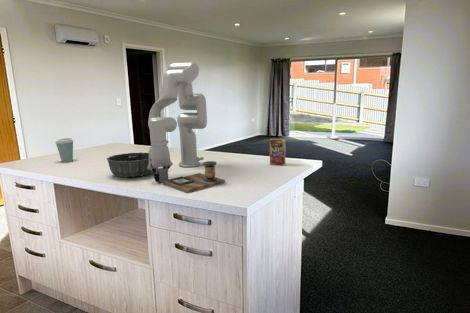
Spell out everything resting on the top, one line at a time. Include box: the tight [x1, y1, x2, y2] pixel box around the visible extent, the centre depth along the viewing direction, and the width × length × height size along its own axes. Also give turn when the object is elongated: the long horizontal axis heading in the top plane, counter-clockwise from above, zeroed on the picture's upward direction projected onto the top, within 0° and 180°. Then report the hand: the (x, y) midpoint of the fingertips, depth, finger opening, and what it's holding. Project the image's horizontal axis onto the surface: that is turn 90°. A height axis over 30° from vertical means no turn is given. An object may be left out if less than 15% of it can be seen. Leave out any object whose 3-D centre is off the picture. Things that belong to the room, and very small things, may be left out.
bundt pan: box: [106, 152, 153, 178], centre depth 177 cm, size 26×26×10 cm
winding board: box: [162, 160, 226, 194], centre depth 154 cm, size 22×20×10 cm
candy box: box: [269, 138, 287, 166], centre depth 190 cm, size 9×4×15 cm, turn 71°
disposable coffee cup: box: [54, 137, 74, 163], centre depth 214 cm, size 11×11×15 cm
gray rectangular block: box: [158, 167, 169, 183], centre depth 161 cm, size 4×6×6 cm, turn 43°
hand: (161, 179), depth 162 cm, fingers closed on gray rectangular block, 3 cm apart
